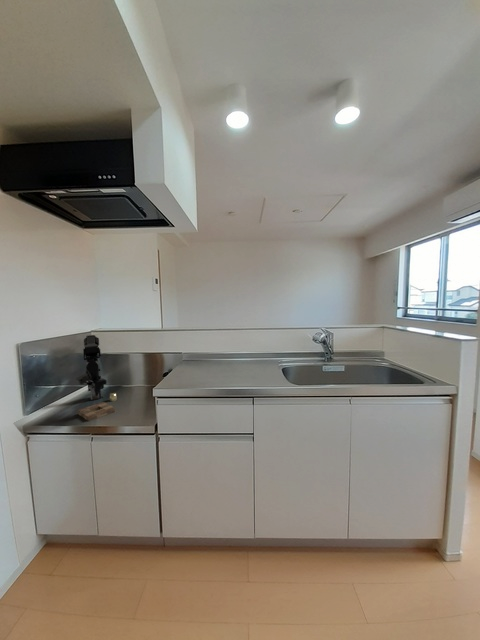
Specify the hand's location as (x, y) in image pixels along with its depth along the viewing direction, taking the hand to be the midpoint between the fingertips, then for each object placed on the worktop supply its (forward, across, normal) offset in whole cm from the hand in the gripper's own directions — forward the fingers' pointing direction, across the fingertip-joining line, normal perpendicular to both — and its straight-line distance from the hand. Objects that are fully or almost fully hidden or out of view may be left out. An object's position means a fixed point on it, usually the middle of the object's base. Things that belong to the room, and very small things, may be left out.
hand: (95, 394), depth 149 cm
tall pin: (+2, 0, 0) cm, 2 cm away
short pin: (+11, -11, +15) cm, 22 cm away
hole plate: (+11, 0, 0) cm, 11 cm away
